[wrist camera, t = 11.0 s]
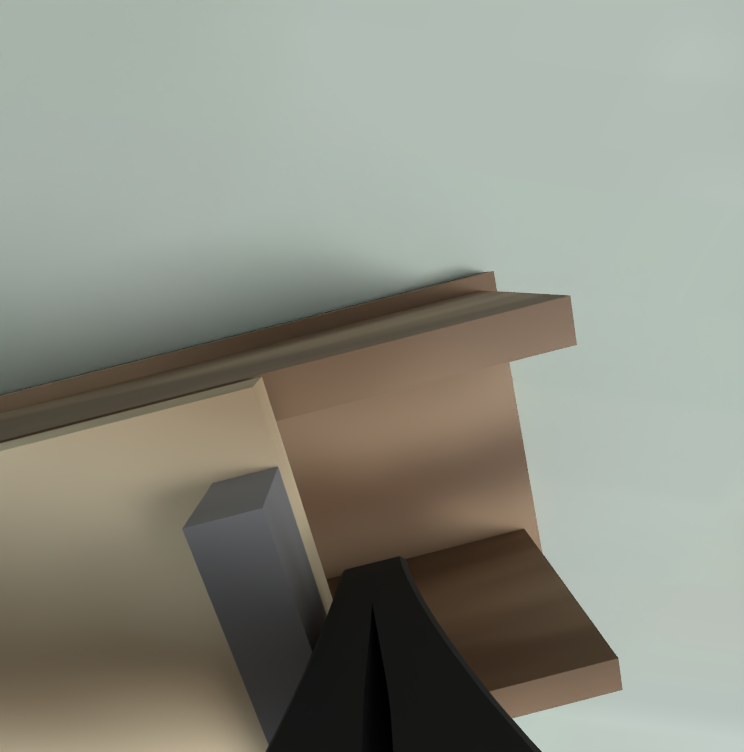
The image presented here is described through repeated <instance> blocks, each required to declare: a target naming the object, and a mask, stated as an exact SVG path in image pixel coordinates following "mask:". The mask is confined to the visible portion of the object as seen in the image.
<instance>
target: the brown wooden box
mask: <svg viewBox="0 0 744 752" xmlns="http://www.w3.org/2000/svg"><path fill="white" fill-rule="evenodd" d="M574 345H577V343H576V336H575V328H574V320H573V313H572V305H571V298H570V296H568V295H550V294H533V293H515V292H498V291H497V289H496V283H495V277H494V271H492V272H483V273H480V274H476V275H472V276H468V277H464V278H460V279H456V280H452V281H448V282H444V283H440V284H436V285H432V286H428V287H424V288H420V289H417V290H413V291H409V292H405V293H401V294H397V295H393V296H389V297H385V298H381V299H377V300H373V301H369V302H365V303H361V304H357V305H354V306H350V307H346V308H342V309H338V310H334V311H330V312H326V313H322V314H318V315H314V316H310V317H306V318H302V319H298V320H294V321H291V322H287V323H283V324H279V325H275V326H271V327H267V328H263V329H259V330H255V331H251V332H247V333H243V334H239V335H235V336H232V337H228V338H224V339H220V340H216V341H212V342H208V343H204V344H200V345H196V346H192V347H188V348H184V349H180V350H176V351H172V352H169V353H165V354H161V355H157V356H153V357H149V358H145V359H141V360H137V361H133V362H129V363H125V364H121V365H117V366H113V367H109V368H106V369H102V370H98V371H94V372H90V373H86V374H82V375H78V376H74V377H70V378H66V379H62V380H58V381H54V382H50V383H46V384H43V385H39V386H35V387H31V388H27V389H23V390H19V391H15V392H11V393H7V394H3V395H0V443H3V442H7V441H11V440H15V439H19V438H23V437H27V436H31V435H35V434H39V433H43V432H47V431H51V430H54V429H58V428H62V427H66V426H70V425H74V424H78V423H82V422H86V421H90V420H94V419H98V418H102V417H106V416H110V415H113V414H117V413H121V412H125V411H129V410H133V409H137V408H141V407H145V406H149V405H153V404H157V403H161V402H165V401H168V400H172V399H176V398H180V397H184V396H188V395H192V394H196V393H200V392H204V391H208V390H212V389H216V388H220V387H223V386H227V385H231V384H235V383H239V382H243V381H247V380H251V379H255V378H259V377H262V379H263V382H264V385H265V388H266V391H267V395H268V398H269V401H270V404H271V407H272V410H273V413H274V417H275V420H276V423H277V426H278V429H279V432H280V435H281V439H282V442H283V445H284V448H285V451H286V454H287V457H288V461H289V464H290V467H291V470H292V473H293V476H294V479H295V483H296V486H297V489H298V492H299V495H300V498H301V502H302V505H303V508H304V511H305V514H306V517H307V520H308V524H309V527H310V530H311V533H312V536H313V539H314V542H315V546H316V549H317V552H318V555H319V558H320V561H321V564H322V568H323V571H324V574H325V577H326V580H327V583H328V586H329V590H330V593H331V596H332V599H333V598H334V595H335V592H336V589H337V586H338V583H339V579H340V576H341V575H342V573H343V572H344V570H346V569H350V568H354V567H358V566H362V565H366V564H370V563H374V562H378V561H382V560H386V559H390V558H394V557H397V556H400V557H402V558H404V559H406V561H407V565H408V568H409V571H410V573H411V576H412V578H413V580H414V582H415V584H416V586H417V588H418V590H419V592H420V593H421V595H422V597H423V599H424V601H425V602H426V604H427V606H428V607H429V609H430V611H431V612H432V614H433V615H434V617H435V618H436V620H437V621H438V623H439V624H440V626H441V627H442V629H443V630H444V632H445V633H446V635H447V636H448V638H449V639H450V641H451V642H452V644H453V645H454V646H455V648H456V649H457V650H458V652H459V653H460V655H461V656H462V657H463V659H464V660H465V661H466V663H467V664H468V665H469V666H470V668H471V669H472V670H473V672H474V673H475V674H476V676H477V677H478V678H479V679H480V681H481V682H482V683H483V685H484V686H485V687H486V688H487V689H488V691H489V692H490V693H491V694H492V696H493V697H494V698H495V699H496V700H497V702H498V703H499V704H500V705H501V706H502V708H503V709H504V710H505V711H506V712H507V713H508V715H509V716H510V717H511V718H515V717H519V716H523V715H527V714H531V713H534V712H538V711H542V710H546V709H550V708H554V707H558V706H562V705H565V704H569V703H573V702H577V701H581V700H585V699H589V698H592V697H596V696H600V695H604V694H608V693H612V692H616V691H620V690H622V683H621V675H620V668H619V660H618V657H617V656H616V654H615V653H614V652H613V650H612V649H611V648H610V646H609V645H608V643H607V642H606V641H605V639H604V638H603V637H602V635H601V634H600V632H599V631H598V630H597V628H596V627H595V625H594V624H593V623H592V621H591V620H590V619H589V617H588V616H587V614H586V613H585V612H584V610H583V609H582V608H581V606H580V605H579V603H578V602H577V601H576V599H575V598H574V596H573V595H572V594H571V592H570V591H569V590H568V588H567V587H566V585H565V584H564V583H563V581H562V580H561V578H560V577H559V576H558V574H557V573H556V572H555V570H554V569H553V567H552V566H551V565H550V563H549V562H548V561H547V559H546V558H545V556H544V555H543V554H542V549H541V544H540V538H539V532H538V526H537V520H536V515H535V509H534V503H533V497H532V492H531V486H530V480H529V474H528V468H527V463H526V457H525V451H524V445H523V439H522V434H521V428H520V422H519V416H518V410H517V405H516V399H515V393H514V387H513V382H512V376H511V370H510V364H509V362H511V361H515V360H519V359H523V358H527V357H531V356H534V355H538V354H542V353H546V352H550V351H554V350H558V349H562V348H566V347H570V346H574Z"/></svg>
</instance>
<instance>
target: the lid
mask: <svg viewBox="0 0 744 752" xmlns="http://www.w3.org/2000/svg"><path fill="white" fill-rule="evenodd" d="M332 601H333V599H332V596H331V593H330V590H329V586H328V583H327V580H326V577H325V574H324V571H323V568H322V564H321V561H320V558H319V555H318V552H317V549H316V546H315V542H314V539H313V536H312V533H311V530H310V527H309V524H308V520H307V517H306V514H305V511H304V508H303V505H302V502H301V498H300V495H299V492H298V489H297V486H296V483H295V479H294V476H293V473H292V470H291V467H290V464H289V461H288V457H287V454H286V451H285V448H284V445H283V442H282V439H281V435H280V432H279V429H278V426H277V423H276V420H275V417H274V413H273V410H272V407H271V404H270V401H269V398H268V395H267V391H266V388H265V385H264V382H263V379H262V377H259V378H255V379H251V380H247V381H243V382H239V383H235V384H231V385H227V386H223V387H220V388H216V389H212V390H208V391H204V392H200V393H196V394H192V395H188V396H184V397H180V398H176V399H172V400H168V401H165V402H161V403H157V404H153V405H149V406H145V407H141V408H137V409H133V410H129V411H125V412H121V413H117V414H113V415H110V416H106V417H102V418H98V419H94V420H90V421H86V422H82V423H78V424H74V425H70V426H66V427H62V428H58V429H54V430H51V431H47V432H43V433H39V434H35V435H31V436H27V437H23V438H19V439H15V440H11V441H7V442H3V443H0V752H266V750H267V748H268V746H269V744H270V742H271V740H272V738H273V736H274V734H275V732H276V730H277V728H278V726H279V724H280V722H281V720H282V718H283V716H284V714H285V712H286V709H287V707H288V705H289V703H290V701H291V699H292V697H293V695H294V693H295V690H296V688H297V686H298V684H299V682H300V680H301V678H302V675H303V673H304V671H305V669H306V666H307V664H308V662H309V659H310V657H311V654H312V652H313V650H314V647H315V645H316V642H317V640H318V637H319V635H320V633H321V630H322V628H323V625H324V622H325V620H326V617H327V614H328V612H329V609H330V606H331V603H332Z"/></svg>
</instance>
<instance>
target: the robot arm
mask: <svg viewBox="0 0 744 752" xmlns="http://www.w3.org/2000/svg"><path fill="white" fill-rule="evenodd" d="M266 752H541V751H540V749H539V748H538V747H537V746H536V745H535V744H534V743H533V742H532V741H531V740H530V739H529V738H528V736H527V735H526V734H525V733H524V732H523V731H522V730H521V728H520V727H519V726H518V725H517V724H516V723H515V721H514V720H513V719H512V718H511V717H510V716H509V715H508V713H507V712H506V711H505V710H504V709H503V708H502V706H501V705H500V704H499V703H498V702H497V700H496V699H495V698H494V697H493V696H492V694H491V693H490V692H489V691H488V689H487V688H486V687H485V686H484V685H483V683H482V682H481V681H480V679H479V678H478V677H477V676H476V674H475V673H474V672H473V670H472V669H471V668H470V666H469V665H468V664H467V663H466V661H465V660H464V659H463V657H462V656H461V655H460V653H459V652H458V650H457V649H456V648H455V646H454V645H453V644H452V642H451V641H450V639H449V638H448V636H447V635H446V633H445V632H444V630H443V629H442V627H441V626H440V624H439V623H438V621H437V620H436V618H435V617H434V615H433V614H432V612H431V611H430V609H429V607H428V606H427V604H426V602H425V601H424V599H423V597H422V595H421V593H420V592H419V590H418V588H417V586H416V584H415V582H414V580H413V578H412V576H411V573H410V571H409V568H408V565H407V561H406V559H404V558H402V557H400V556H397V557H394V558H390V559H386V560H382V561H378V562H374V563H370V564H366V565H362V566H358V567H354V568H350V569H346V570H344V572H343V573H342V575H341V576H340V579H339V583H338V586H337V589H336V592H335V595H334V598H333V601H332V603H331V606H330V609H329V612H328V614H327V617H326V620H325V622H324V625H323V628H322V630H321V633H320V635H319V637H318V640H317V642H316V645H315V647H314V650H313V652H312V654H311V657H310V659H309V662H308V664H307V666H306V669H305V671H304V673H303V675H302V678H301V680H300V682H299V684H298V686H297V688H296V690H295V693H294V695H293V697H292V699H291V701H290V703H289V705H288V707H287V709H286V712H285V714H284V716H283V718H282V720H281V722H280V724H279V726H278V728H277V730H276V732H275V734H274V736H273V738H272V740H271V742H270V744H269V746H268V748H267V750H266Z"/></svg>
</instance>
